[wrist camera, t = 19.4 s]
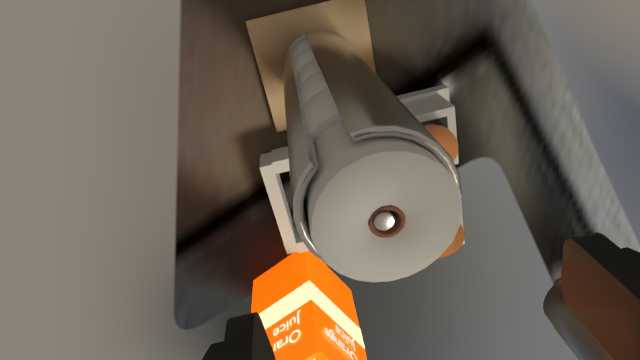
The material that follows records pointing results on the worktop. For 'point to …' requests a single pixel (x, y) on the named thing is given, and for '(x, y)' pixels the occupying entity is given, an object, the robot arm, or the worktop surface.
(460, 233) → the plunger
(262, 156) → the housing
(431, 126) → the plunger
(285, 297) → the orange juice
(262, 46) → the mat
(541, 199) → the worktop surface
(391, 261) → the silver metal cylinder
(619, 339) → the robot arm
